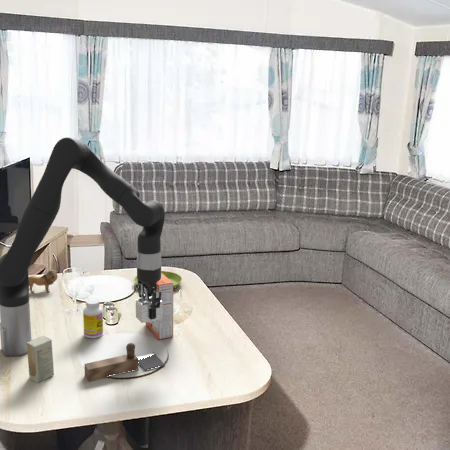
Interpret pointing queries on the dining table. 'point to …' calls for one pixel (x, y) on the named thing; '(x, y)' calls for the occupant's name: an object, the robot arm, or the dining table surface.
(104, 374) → the body
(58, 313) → the dining table surface
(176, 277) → the saucer
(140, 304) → the lever cap
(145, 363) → the rubber mat
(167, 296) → the cracker box
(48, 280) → the lion figurine
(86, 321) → the supplement bottle
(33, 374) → the skincare box
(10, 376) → the dining table surface
